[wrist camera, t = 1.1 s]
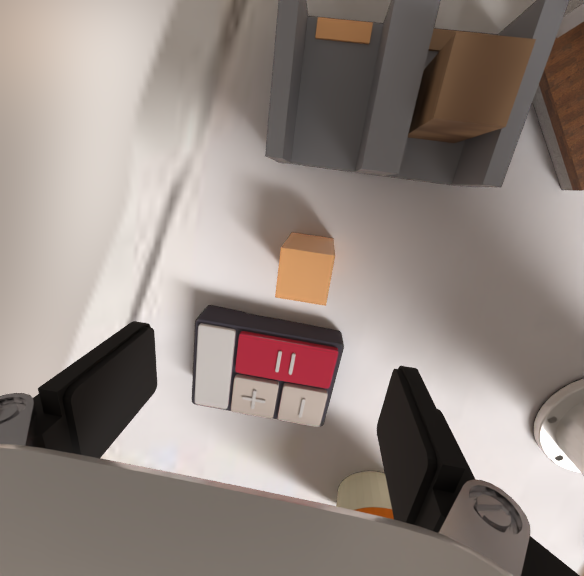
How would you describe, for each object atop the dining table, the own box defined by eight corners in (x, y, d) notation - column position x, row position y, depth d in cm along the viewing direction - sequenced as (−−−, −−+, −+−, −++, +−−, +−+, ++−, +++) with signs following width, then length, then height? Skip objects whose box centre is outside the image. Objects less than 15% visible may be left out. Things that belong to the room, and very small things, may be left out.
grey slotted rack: (507, 42, 21) (573, -9, 15) (462, 186, 25) (502, 187, 19) (292, 21, 22) (280, -35, 16) (278, 162, 26) (264, 155, 20)
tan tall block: (333, 238, 27) (335, 255, 21) (326, 277, 29) (325, 305, 22) (292, 232, 28) (280, 247, 21) (287, 271, 29) (275, 297, 22)
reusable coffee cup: (430, 521, 39) (489, 713, 25) (340, 531, 41) (347, 709, 27) (407, 452, 35) (460, 631, 21) (311, 469, 38) (301, 636, 24)
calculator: (323, 433, 31) (188, 409, 31) (322, 404, 35) (202, 383, 36) (345, 348, 27) (191, 321, 28) (341, 327, 31) (207, 303, 32)
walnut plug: (472, 83, 21) (536, 39, 15) (454, 143, 23) (505, 126, 16) (417, 77, 22) (456, 31, 15) (403, 136, 23) (433, 118, 16)
